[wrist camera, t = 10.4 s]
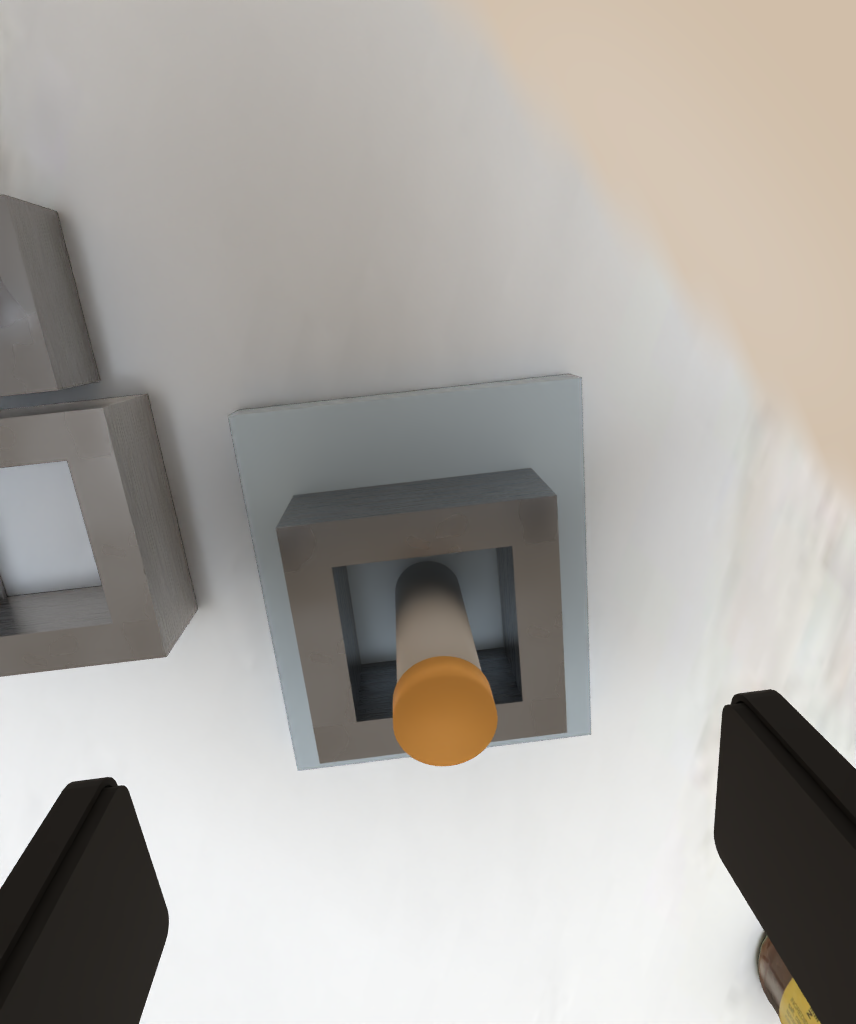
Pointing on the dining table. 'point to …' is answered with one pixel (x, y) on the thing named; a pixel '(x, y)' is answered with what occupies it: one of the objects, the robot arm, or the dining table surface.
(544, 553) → the end link
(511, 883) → the dining table surface
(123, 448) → the link
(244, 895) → the dining table surface
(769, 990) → the sauce bottle
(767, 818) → the robot arm
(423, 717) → the keeper
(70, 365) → the knobbed metal block
